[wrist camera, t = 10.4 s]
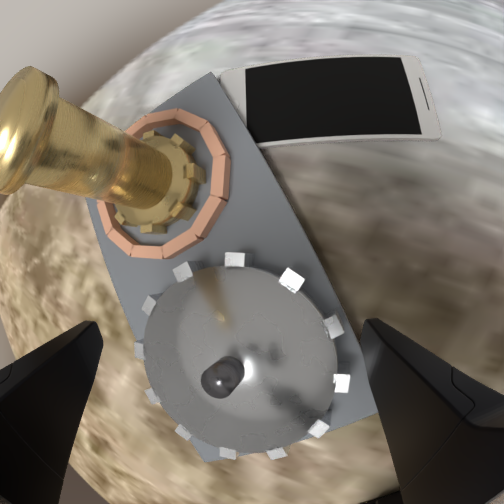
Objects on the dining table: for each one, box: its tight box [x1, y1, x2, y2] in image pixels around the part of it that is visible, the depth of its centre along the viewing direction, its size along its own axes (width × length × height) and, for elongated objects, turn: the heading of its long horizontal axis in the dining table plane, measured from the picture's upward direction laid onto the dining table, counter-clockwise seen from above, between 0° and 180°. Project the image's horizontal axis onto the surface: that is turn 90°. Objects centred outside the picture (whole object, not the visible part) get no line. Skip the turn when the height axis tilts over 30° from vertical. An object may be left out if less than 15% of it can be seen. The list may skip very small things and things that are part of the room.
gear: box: [134, 252, 351, 460], centre depth 16 cm, size 13×13×4 cm
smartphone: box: [220, 55, 442, 149], centre depth 18 cm, size 7×15×1 cm, turn 92°
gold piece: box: [0, 66, 206, 235], centre depth 14 cm, size 7×7×13 cm
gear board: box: [85, 72, 378, 462], centre depth 19 cm, size 26×14×2 cm, turn 27°
